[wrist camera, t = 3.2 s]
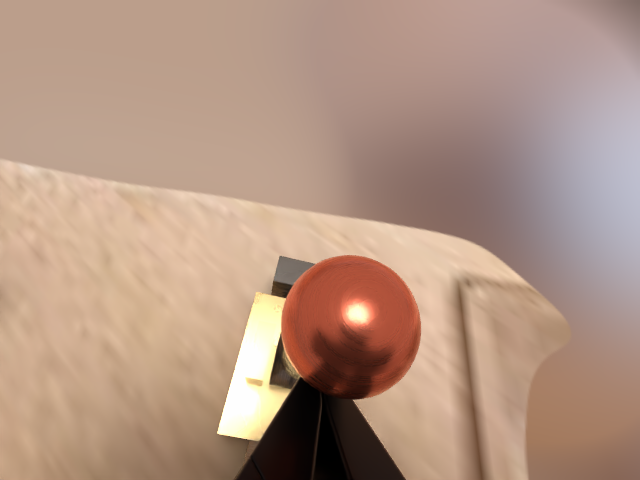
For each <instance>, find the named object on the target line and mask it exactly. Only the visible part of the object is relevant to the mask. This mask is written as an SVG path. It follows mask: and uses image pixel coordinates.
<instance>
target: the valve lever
mask: <svg viewBox="0 0 640 480" xmlns="http://www.w3.org/2000/svg"><path fill="white" fill-rule="evenodd" d="M420 337H421V321H420V314H419V310H418V307H417V304H416V301H415V299H414V296H413V295H412V293H411V291H410V289H409V288H408V286H407V285H406V283H405V282H404V281H403V280H402V279H401V278H400V277H399V276H398V275H397V274H396V273H395V272H394V271H393V270H391V269H390V268H389V267H387V266H385V265H384V264H382V263H380V262H378V261H375V260H373V259H370V258H366V257H362V256H356V255H344V256H337V257H332V258H329V259H326V260H323V261H321V262H319V263H317V264H315V265H314V266H312V267H311V268H309V269H308V270H306V271H305V272H304V273H303V274H302V275H301V276H300V277H299V278H298V279H297V281H296V282H295V283H294V285H293V286H292V288H291V290H290V291H289V293H288V295H287V298H286V300H285V303H284V306H283V310H282V316H281V333H280V336H279V340H278V344H277V349H276V353H275V357H274V362H273V366H272V371H271V376H270V381H269V385H272V386H277V387H282V388H287V389H292V388H293V386H294V384H295V383H296V381H297V380H298V378H299V376H301V377H302V378H303V379H304V380H305V381H306V382H307V383H308V384H309V385H311V386H312V387H314V388H315V389H317V390H319V391H320V392H322V393H325V394H327V395H329V396H332V397H336V398H340V399H348V400H353V399H364V398H369V397H373V396H376V395H378V394H381V393H383V392H384V391H386V390H388V389H389V388H391V387H392V386H393V385H395V384H396V383H398V382H399V381H400V380H401V379H402V378H403V377H404V375H405V374H406V373H407V371H408V370H409V369H410V367H411V365H412V363H413V361H414V359H415V357H416V354H417V352H418V348H419V344H420Z"/></svg>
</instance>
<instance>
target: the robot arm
mask: <svg viewBox="0 0 640 480" xmlns="http://www.w3.org/2000/svg"><path fill="white" fill-rule="evenodd" d="M234 480H406V479H405V478H404V476H403V475H402V473H401V472H400V470H399V469H398V467H397V466H396V464H395V463H394V461H393V460H392V458H391V457H390V455H389V454H388V452H387V451H386V449H385V448H384V446H383V445H382V443H381V442H380V440H379V439H378V437H377V436H376V434H375V433H374V431H373V430H372V428H371V427H370V425H369V424H368V422H367V421H366V419H365V418H364V416H363V415H362V413H361V412H360V410H359V409H358V407H357V406H356V404H355V403H354V401H353V400H348V399H340V398H336V397H332V396H329V395H327V394H325V393H322V392H320V391H319V390H317V389H315V388H314V387H312V386H311V385H309V384H308V383H307V382H306V381H305V380H304V379H303V378H302V377H301V376H299V378H298V380H297V381H296V383H295V384H294V386H293V388H292V389H291V391H290V392H289V394H288V396H287V397H286V399H285V400H284V402H283V403H282V405H281V407H280V408H279V410H278V411H277V413H276V415H275V416H274V418H273V419H272V421H271V423H270V424H269V426H268V427H267V429H266V431H265V432H264V434H263V435H262V437H261V439H260V440H259V442H258V443H257V445H256V446H255V448H254V450H253V451H252V453H251V454H250V456H249V458H248V459H247V460H246V462H245V464H244V465H243V467H242V468H241V470H240V472H239V473H238V475H237V476H236V477H235V479H234Z"/></svg>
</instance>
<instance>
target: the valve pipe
mask: <svg viewBox="0 0 640 480" xmlns="http://www.w3.org/2000/svg"><path fill="white" fill-rule="evenodd" d="M314 265H315V264H313V263H309V262H304V261H300V260H296V259H291V258H287V257H282V256H280V257H279V261H278V265H277V269H276V273H275V277H274V281H273V288H272V294H271V295H268V294H263V293H259V292H256V295H255V299H254V303H253V306H252V310H251V313H250V317H249V321H248V324H247V328H246V331H245V335H244V339H243V342H242V346H241V350H240V353H239V357H238V360H237V364H236V368H235V371H234V375H233V379H232V382H231V386H230V389H229V393H228V397H227V400H226V404H225V407H224V411H223V415H222V418H221V422H220V426H219V429H218V433H217V434H222V435H228V436H233V437H239V438H244V439H249V443H248V447H247V451H246V455H245V460H244V464H245V462H246V460H247V459H248V458H249V456H250V454H251V453H252V451H253V450H254V448H255V446H256V445H257V443H258V442H259V440H260V439H261V437H262V435H263V434H264V432H265V431H266V429H267V427H268V426H269V424H270V423H271V421H272V419H273V418H274V416H275V415H276V413H277V411H278V410H279V408H280V407H281V405H282V403H283V402H284V400H285V399H286V397H287V396H288V394H289V392H290V391H291V389H287V388H282V387H277V386H272V385H269V381H270V376H271V371H272V366H273V362H274V357H275V353H276V349H277V344H278V340H279V336H280V333H281V316H282V310H283V306H284V303H285V300H286V298H287V295H288V293H289V291H290V290H291V288H292V286H293V285H294V283H295V282H296V281H297V279H298V278H299V277H300V276H301V275H302V274H303V273H304V272H305V271H306V270H308V269H309V268H311V267H312V266H314ZM244 464H243V465H244Z"/></svg>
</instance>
